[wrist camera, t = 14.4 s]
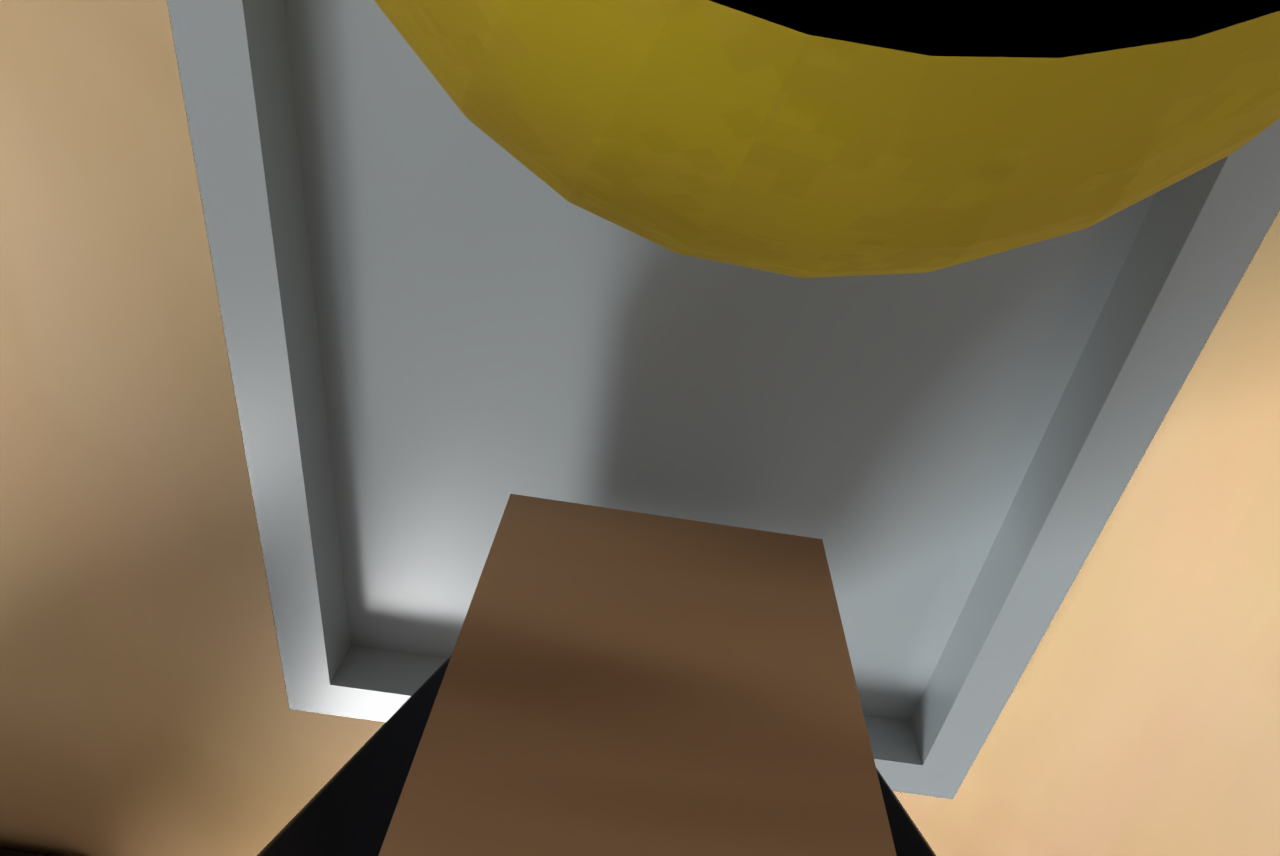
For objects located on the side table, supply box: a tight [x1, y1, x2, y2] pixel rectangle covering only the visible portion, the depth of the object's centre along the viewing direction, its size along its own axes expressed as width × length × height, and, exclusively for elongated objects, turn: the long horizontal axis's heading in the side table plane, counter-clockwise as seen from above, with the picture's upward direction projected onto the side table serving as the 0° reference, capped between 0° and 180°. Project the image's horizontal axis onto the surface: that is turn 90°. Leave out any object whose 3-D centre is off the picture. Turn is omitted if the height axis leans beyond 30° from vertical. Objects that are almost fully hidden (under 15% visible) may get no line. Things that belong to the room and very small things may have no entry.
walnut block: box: [378, 494, 897, 856], centre depth 8 cm, size 4×4×5 cm
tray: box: [167, 0, 1280, 799], centre depth 10 cm, size 18×12×2 cm, turn 174°
